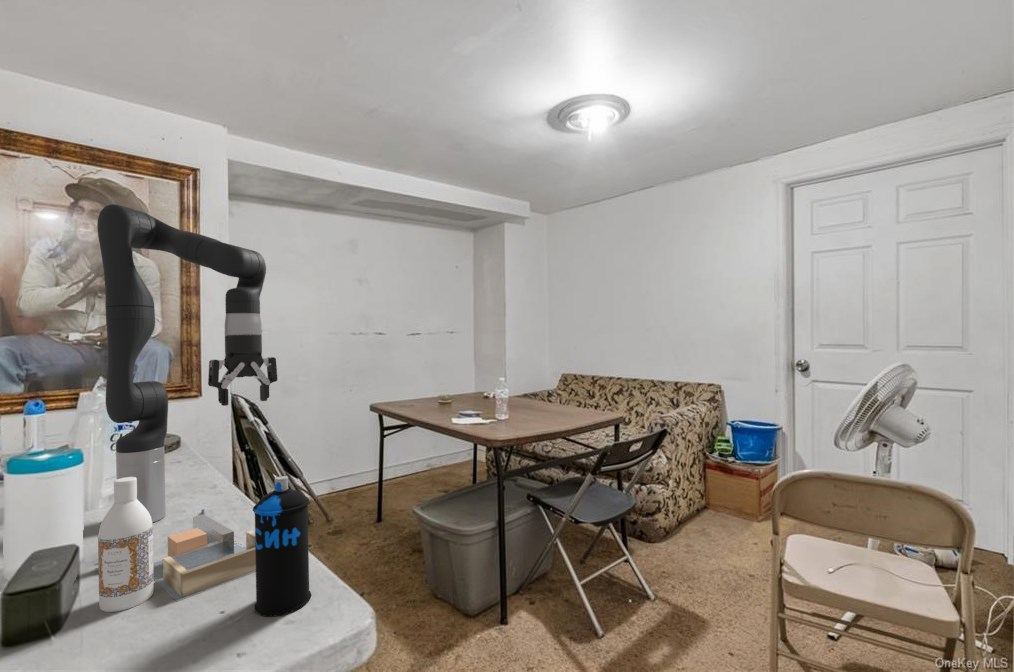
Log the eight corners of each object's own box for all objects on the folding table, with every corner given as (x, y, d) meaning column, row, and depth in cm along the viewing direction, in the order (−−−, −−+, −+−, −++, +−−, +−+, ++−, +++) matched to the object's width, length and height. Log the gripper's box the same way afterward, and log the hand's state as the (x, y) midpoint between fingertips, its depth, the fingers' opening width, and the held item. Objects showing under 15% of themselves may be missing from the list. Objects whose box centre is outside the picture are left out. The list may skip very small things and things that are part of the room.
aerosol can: (271, 588, 80) (269, 470, 80) (319, 588, 80) (317, 470, 80) (243, 617, 72) (241, 485, 72) (296, 617, 71) (294, 485, 72)
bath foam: (88, 617, 73) (86, 487, 73) (115, 593, 80) (113, 475, 80) (140, 610, 74) (138, 483, 75) (161, 587, 81) (159, 471, 81)
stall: (163, 580, 84) (162, 558, 84) (251, 550, 95) (251, 530, 95) (183, 599, 77) (182, 574, 77) (275, 563, 89) (274, 542, 89)
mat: (140, 567, 89) (140, 566, 89) (237, 537, 102) (237, 536, 102) (177, 602, 76) (177, 601, 76) (281, 562, 90) (281, 561, 90)
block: (168, 562, 90) (167, 536, 90) (197, 552, 94) (197, 527, 94) (177, 569, 87) (176, 542, 87) (207, 559, 91) (207, 533, 91)
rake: (148, 550, 96) (147, 529, 96) (203, 534, 103) (203, 514, 103) (175, 573, 86) (174, 549, 86) (234, 553, 93) (233, 531, 93)
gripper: (267, 333, 118) (268, 398, 117) (202, 334, 106) (204, 405, 106) (281, 333, 113) (283, 400, 113) (216, 333, 102) (217, 408, 102)
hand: (244, 403), depth 109 cm, fingers open, 8 cm apart
